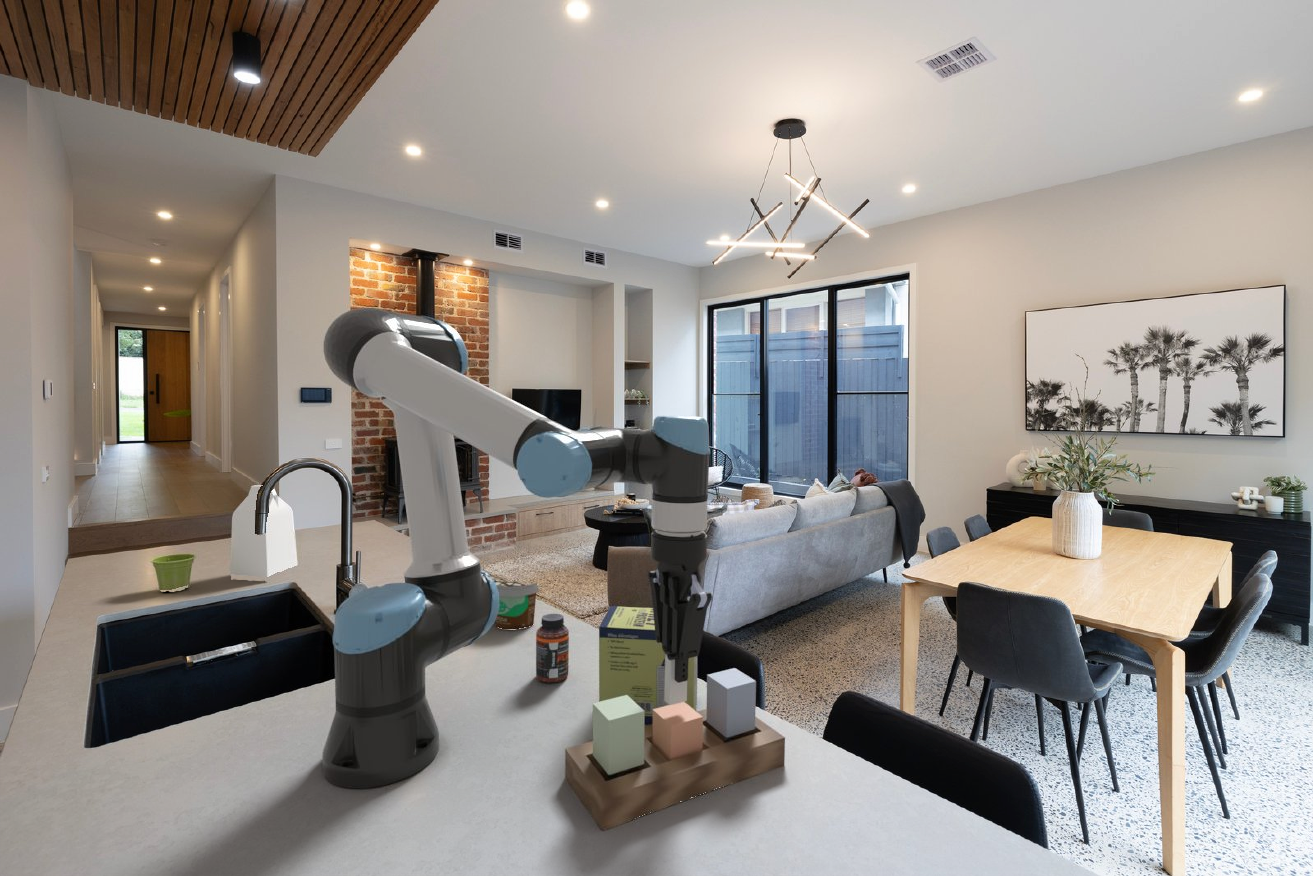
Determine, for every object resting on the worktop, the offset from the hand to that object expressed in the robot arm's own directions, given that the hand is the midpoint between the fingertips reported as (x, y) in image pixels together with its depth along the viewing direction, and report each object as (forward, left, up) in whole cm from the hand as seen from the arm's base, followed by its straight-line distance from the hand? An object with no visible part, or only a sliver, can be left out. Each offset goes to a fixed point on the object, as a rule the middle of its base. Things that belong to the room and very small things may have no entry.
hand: (675, 700), depth 85 cm
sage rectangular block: (-9, 0, -6) cm, 11 cm away
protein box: (+5, +17, -10) cm, 20 cm away
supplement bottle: (-5, +36, -10) cm, 38 cm away
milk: (-55, +138, -10) cm, 149 cm away
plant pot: (-75, +133, -10) cm, 153 cm away
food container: (-5, +65, -10) cm, 66 cm away
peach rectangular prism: (0, 0, -9) cm, 9 cm away
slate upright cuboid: (+9, 0, -6) cm, 11 cm away
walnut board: (0, 0, -10) cm, 10 cm away
